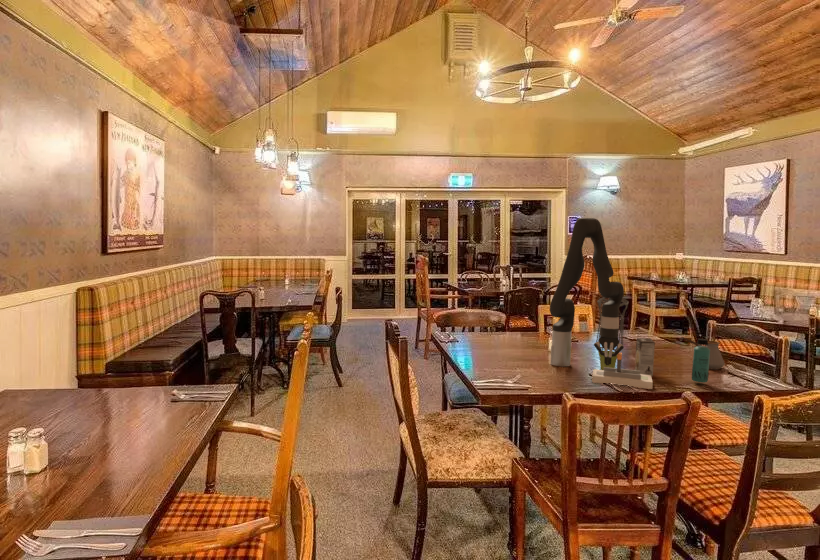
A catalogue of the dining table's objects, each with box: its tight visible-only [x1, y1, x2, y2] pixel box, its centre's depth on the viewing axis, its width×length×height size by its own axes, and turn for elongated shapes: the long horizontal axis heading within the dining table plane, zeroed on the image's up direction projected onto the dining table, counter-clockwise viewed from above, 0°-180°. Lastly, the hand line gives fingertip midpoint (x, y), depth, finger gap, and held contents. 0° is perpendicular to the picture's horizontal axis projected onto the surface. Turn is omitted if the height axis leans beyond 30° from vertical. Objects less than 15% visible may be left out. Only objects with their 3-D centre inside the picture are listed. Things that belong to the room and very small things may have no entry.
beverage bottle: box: [691, 338, 710, 383], centre depth 223 cm, size 6×7×20 cm
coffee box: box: [634, 337, 656, 377], centre depth 240 cm, size 9×6×16 cm
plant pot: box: [597, 350, 617, 370], centre depth 244 cm, size 9×9×9 cm
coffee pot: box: [679, 336, 726, 370], centre depth 253 cm, size 21×12×15 cm, turn 87°
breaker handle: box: [615, 352, 623, 373], centre depth 224 cm, size 3×6×9 cm, turn 158°
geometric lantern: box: [595, 296, 630, 352], centre depth 276 cm, size 16×16×35 cm
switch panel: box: [591, 367, 653, 390], centre depth 224 cm, size 24×12×5 cm, turn 68°
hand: (607, 365), depth 226 cm, fingers closed
